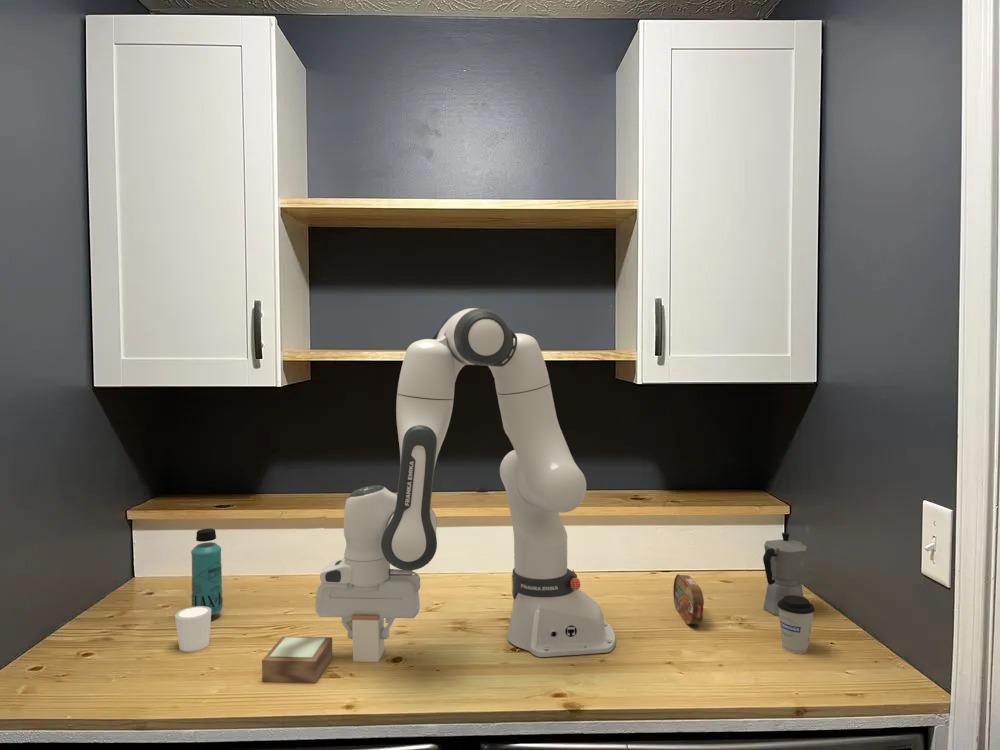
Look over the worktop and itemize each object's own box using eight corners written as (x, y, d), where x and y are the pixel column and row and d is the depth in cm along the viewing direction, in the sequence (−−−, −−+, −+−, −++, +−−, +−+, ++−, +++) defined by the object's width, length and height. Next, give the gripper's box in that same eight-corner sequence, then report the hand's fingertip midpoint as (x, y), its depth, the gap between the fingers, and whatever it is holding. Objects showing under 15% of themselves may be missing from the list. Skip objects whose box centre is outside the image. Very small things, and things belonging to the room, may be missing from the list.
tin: (672, 604, 161) (672, 568, 161) (685, 603, 161) (685, 568, 161) (691, 631, 146) (691, 592, 146) (705, 631, 146) (706, 592, 146)
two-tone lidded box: (384, 650, 138) (384, 605, 137) (378, 662, 133) (378, 616, 132) (359, 649, 138) (358, 605, 138) (352, 661, 133) (351, 615, 133)
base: (332, 657, 135) (332, 635, 135) (316, 682, 125) (315, 659, 125) (282, 656, 135) (282, 635, 135) (262, 681, 125) (261, 658, 125)
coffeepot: (779, 597, 165) (780, 523, 164) (818, 608, 158) (820, 531, 157) (744, 613, 155) (745, 535, 154) (784, 627, 148) (785, 545, 147)
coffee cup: (795, 638, 142) (796, 591, 142) (822, 652, 136) (823, 603, 135) (768, 644, 140) (769, 596, 139) (794, 659, 133) (795, 608, 133)
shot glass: (219, 640, 143) (218, 607, 143) (196, 654, 136) (195, 620, 136) (191, 636, 145) (191, 604, 144) (168, 650, 138) (167, 616, 138)
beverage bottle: (185, 621, 152) (182, 533, 151) (205, 610, 159) (202, 525, 158) (211, 624, 151) (208, 534, 150) (229, 612, 157) (227, 526, 156)
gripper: (422, 564, 137) (423, 632, 138) (322, 563, 138) (323, 630, 139) (417, 575, 131) (418, 646, 132) (311, 573, 132) (313, 643, 133)
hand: (368, 637), depth 135 cm, fingers closed on two-tone lidded box, 5 cm apart
